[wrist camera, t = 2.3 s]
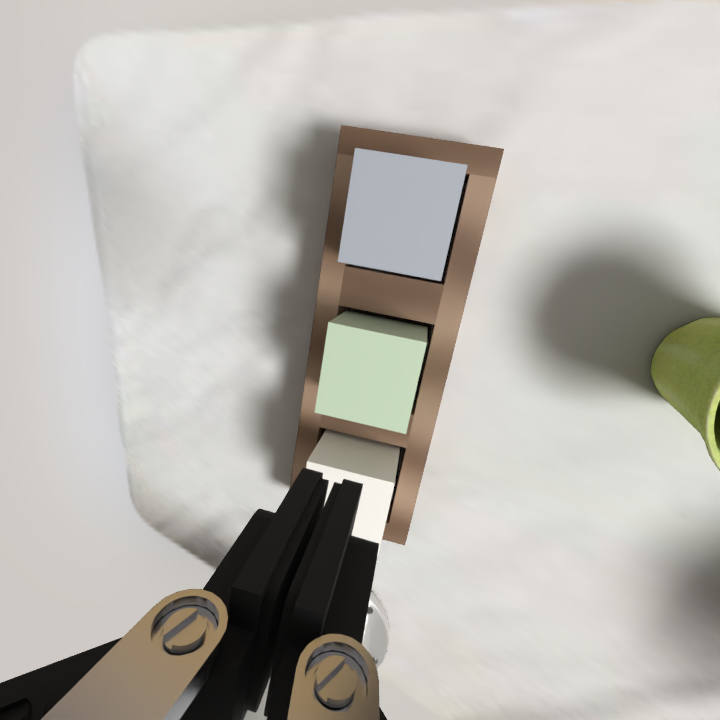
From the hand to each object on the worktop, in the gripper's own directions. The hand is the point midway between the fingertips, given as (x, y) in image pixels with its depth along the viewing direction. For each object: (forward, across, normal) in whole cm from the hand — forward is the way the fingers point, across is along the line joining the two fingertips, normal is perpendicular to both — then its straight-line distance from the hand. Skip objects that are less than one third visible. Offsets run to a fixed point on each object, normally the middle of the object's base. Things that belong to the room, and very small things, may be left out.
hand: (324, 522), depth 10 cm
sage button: (+17, +1, 0) cm, 17 cm away
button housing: (+19, +1, 0) cm, 19 cm away
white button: (+17, 0, +9) cm, 19 cm away
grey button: (+17, +1, -9) cm, 19 cm away
